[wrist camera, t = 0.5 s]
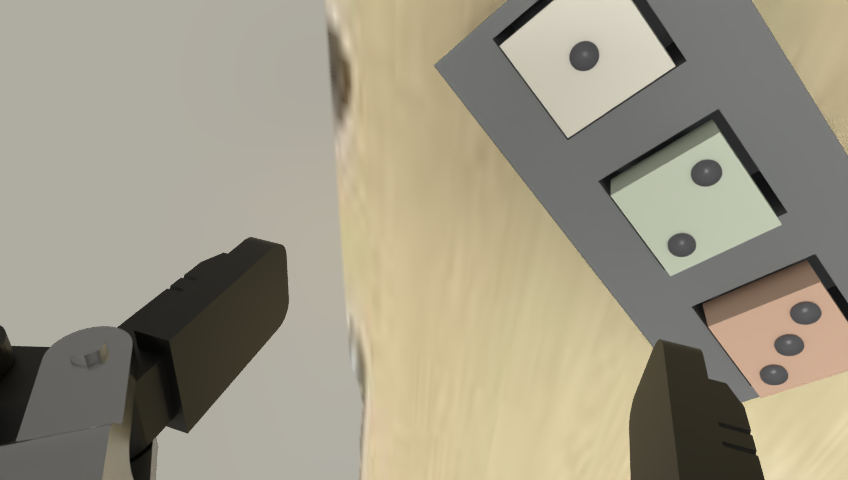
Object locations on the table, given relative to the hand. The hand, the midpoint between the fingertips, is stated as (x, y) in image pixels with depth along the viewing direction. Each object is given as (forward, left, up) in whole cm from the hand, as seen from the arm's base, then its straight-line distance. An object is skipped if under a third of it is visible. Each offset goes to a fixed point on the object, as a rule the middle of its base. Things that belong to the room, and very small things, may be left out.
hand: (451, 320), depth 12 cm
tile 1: (-3, -1, -23) cm, 23 cm away
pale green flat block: (-3, +9, -23) cm, 25 cm away
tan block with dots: (-3, +19, -23) cm, 30 cm away
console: (-3, +9, -29) cm, 30 cm away
